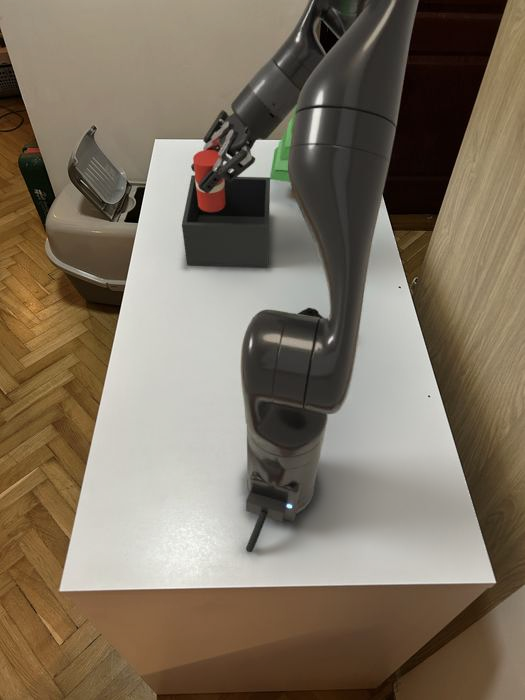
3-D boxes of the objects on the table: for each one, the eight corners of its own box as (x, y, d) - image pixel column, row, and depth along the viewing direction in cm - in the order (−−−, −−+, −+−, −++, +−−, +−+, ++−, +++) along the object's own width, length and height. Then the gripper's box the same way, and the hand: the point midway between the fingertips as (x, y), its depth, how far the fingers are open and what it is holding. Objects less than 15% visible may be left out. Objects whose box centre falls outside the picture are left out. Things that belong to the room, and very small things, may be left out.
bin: (267, 268, 103) (268, 227, 95) (187, 265, 103) (181, 224, 95) (269, 218, 113) (270, 177, 105) (195, 215, 113) (191, 175, 105)
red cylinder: (209, 216, 91) (204, 169, 84) (192, 202, 94) (186, 156, 87) (231, 205, 93) (228, 158, 86) (214, 192, 96) (210, 146, 89)
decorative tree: (291, 168, 124) (300, 27, 101) (347, 193, 118) (370, 49, 95) (255, 194, 118) (255, 50, 94) (313, 222, 112) (328, 76, 88)
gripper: (238, 64, 84) (172, 146, 91) (265, 107, 75) (190, 194, 82) (269, 93, 89) (205, 168, 96) (298, 136, 80) (225, 216, 88)
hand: (199, 180), depth 89 cm, fingers closed on red cylinder, 4 cm apart
